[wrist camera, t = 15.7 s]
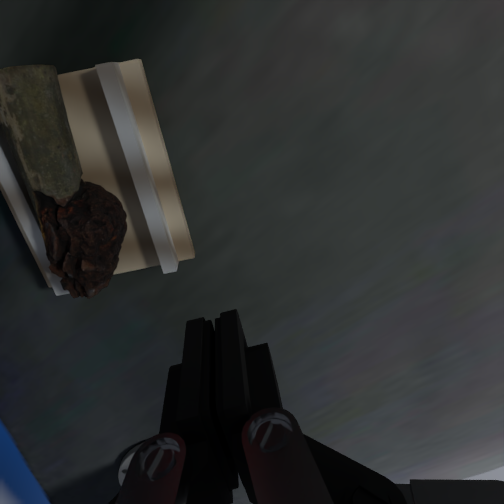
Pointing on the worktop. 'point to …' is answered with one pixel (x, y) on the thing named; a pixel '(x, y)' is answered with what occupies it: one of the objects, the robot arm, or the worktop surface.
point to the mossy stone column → (60, 182)
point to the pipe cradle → (113, 168)
